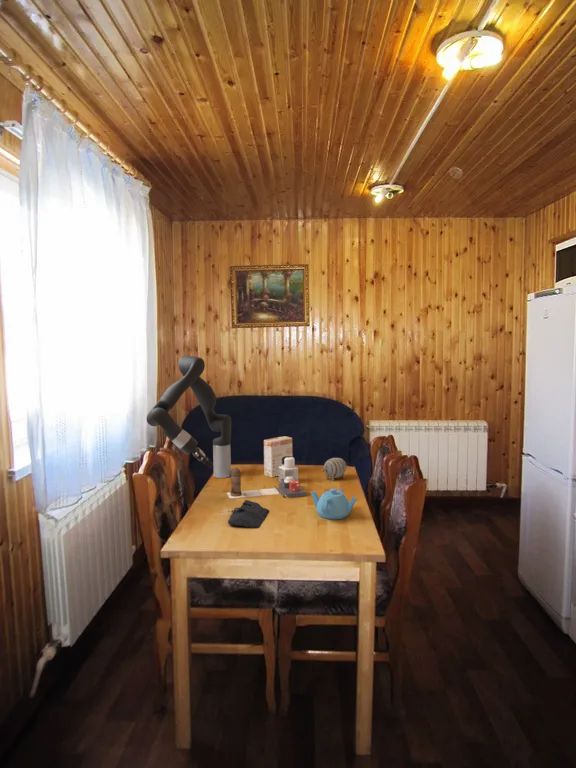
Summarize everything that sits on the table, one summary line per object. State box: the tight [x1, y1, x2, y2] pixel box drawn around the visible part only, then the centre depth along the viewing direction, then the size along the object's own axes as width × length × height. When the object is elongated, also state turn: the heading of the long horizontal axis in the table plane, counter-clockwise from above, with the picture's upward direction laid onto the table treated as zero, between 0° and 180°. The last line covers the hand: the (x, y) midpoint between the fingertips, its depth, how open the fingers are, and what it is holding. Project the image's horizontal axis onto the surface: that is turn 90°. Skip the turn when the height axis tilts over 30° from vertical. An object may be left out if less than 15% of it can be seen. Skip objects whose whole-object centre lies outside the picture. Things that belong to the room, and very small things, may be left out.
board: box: [226, 486, 285, 499], centre depth 226 cm, size 16×26×1 cm, turn 106°
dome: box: [284, 476, 295, 483], centre depth 235 cm, size 6×6×4 cm
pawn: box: [230, 467, 243, 496], centre depth 224 cm, size 5×5×13 cm
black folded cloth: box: [227, 499, 270, 529], centre depth 198 cm, size 15×22×5 cm
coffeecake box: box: [263, 435, 293, 478], centre depth 263 cm, size 15×7×20 cm, turn 130°
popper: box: [278, 478, 307, 498], centre depth 231 cm, size 16×9×6 cm, turn 16°
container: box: [278, 455, 299, 483], centre depth 248 cm, size 8×8×13 cm
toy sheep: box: [321, 457, 348, 482], centre depth 253 cm, size 11×17×11 cm, turn 133°
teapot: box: [310, 488, 357, 520], centre depth 201 cm, size 15×15×11 cm
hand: (211, 464), depth 220 cm, fingers open, 8 cm apart
